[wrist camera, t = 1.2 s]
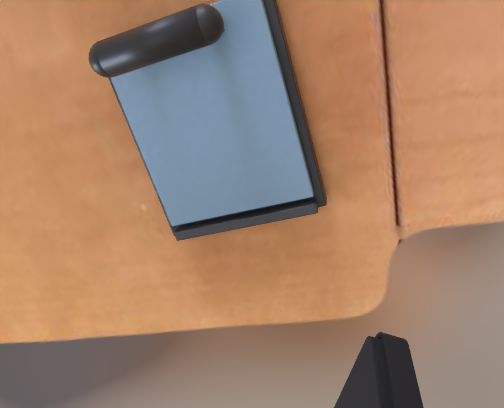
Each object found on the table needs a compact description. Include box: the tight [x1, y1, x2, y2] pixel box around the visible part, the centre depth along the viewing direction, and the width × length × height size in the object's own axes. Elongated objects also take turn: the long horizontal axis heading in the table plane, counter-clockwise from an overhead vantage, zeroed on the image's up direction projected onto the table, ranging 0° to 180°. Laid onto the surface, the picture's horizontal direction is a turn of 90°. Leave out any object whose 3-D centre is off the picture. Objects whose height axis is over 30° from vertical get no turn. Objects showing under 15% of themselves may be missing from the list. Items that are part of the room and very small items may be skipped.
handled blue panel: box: [89, 0, 314, 226], centre depth 21 cm, size 11×9×5 cm
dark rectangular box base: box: [109, 0, 327, 241], centre depth 23 cm, size 12×10×2 cm
